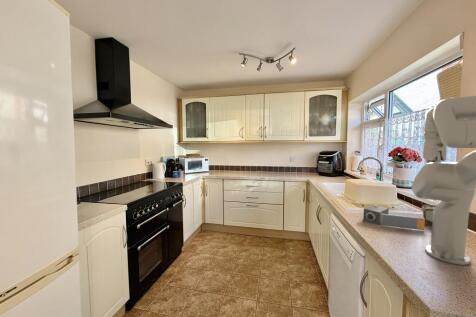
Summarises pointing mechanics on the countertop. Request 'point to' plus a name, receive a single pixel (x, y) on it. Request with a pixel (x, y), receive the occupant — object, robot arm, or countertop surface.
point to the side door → (402, 221)
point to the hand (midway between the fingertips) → (431, 174)
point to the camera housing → (374, 213)
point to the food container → (428, 214)
